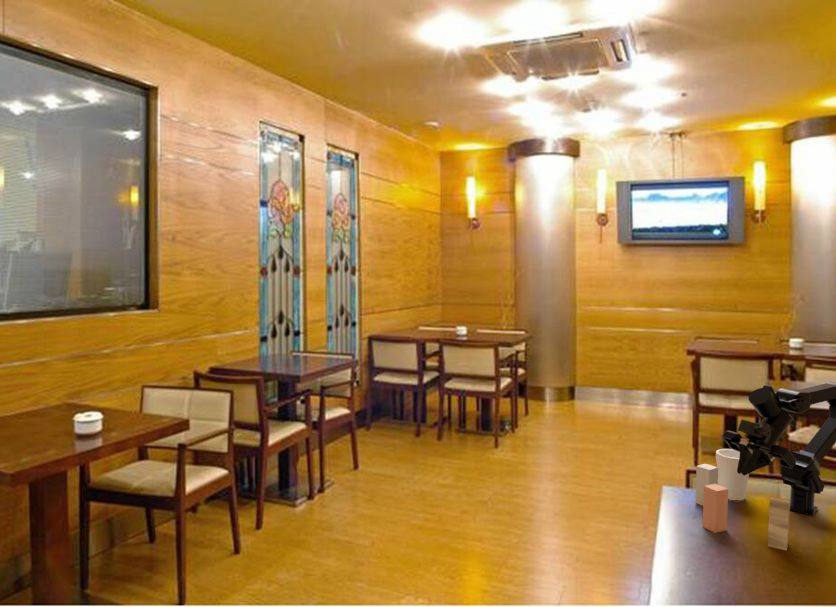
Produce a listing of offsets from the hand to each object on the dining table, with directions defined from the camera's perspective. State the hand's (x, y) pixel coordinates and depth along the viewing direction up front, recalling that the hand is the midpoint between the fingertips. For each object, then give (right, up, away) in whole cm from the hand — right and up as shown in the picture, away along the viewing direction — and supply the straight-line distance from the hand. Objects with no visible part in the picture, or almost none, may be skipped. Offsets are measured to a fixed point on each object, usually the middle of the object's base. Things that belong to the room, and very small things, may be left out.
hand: (740, 473), depth 165 cm
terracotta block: (-8, -14, -2) cm, 16 cm away
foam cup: (+8, -12, +19) cm, 24 cm away
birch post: (+3, -15, -11) cm, 19 cm away
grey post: (-3, -13, +14) cm, 19 cm away
